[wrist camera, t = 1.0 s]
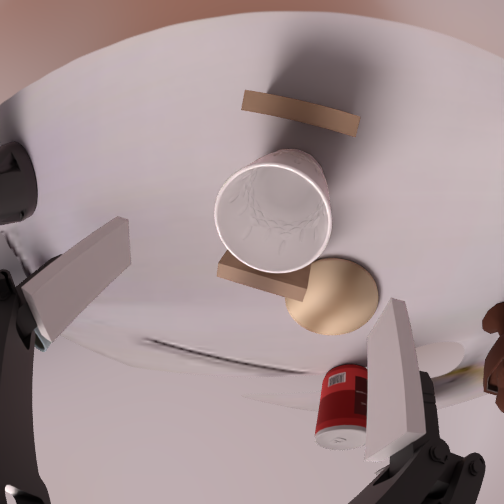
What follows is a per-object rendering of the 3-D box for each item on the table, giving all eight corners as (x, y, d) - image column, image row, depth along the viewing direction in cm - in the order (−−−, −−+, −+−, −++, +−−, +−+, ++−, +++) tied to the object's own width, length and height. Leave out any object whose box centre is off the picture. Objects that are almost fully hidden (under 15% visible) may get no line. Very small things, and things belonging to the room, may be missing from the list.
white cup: (344, 163, 24) (353, 195, 16) (311, 231, 29) (301, 289, 20) (267, 129, 25) (233, 144, 16) (241, 200, 29) (202, 245, 21)
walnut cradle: (239, 241, 32) (216, 276, 26) (266, 93, 23) (244, 89, 17) (309, 261, 30) (302, 302, 25) (352, 114, 22) (360, 116, 16)
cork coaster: (276, 318, 36) (276, 321, 35) (299, 245, 30) (299, 248, 29) (356, 339, 34) (356, 343, 34) (393, 273, 28) (393, 276, 28)
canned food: (316, 386, 41) (306, 446, 32) (334, 357, 37) (327, 425, 28) (358, 394, 40) (355, 453, 31) (381, 367, 36) (382, 432, 27)
